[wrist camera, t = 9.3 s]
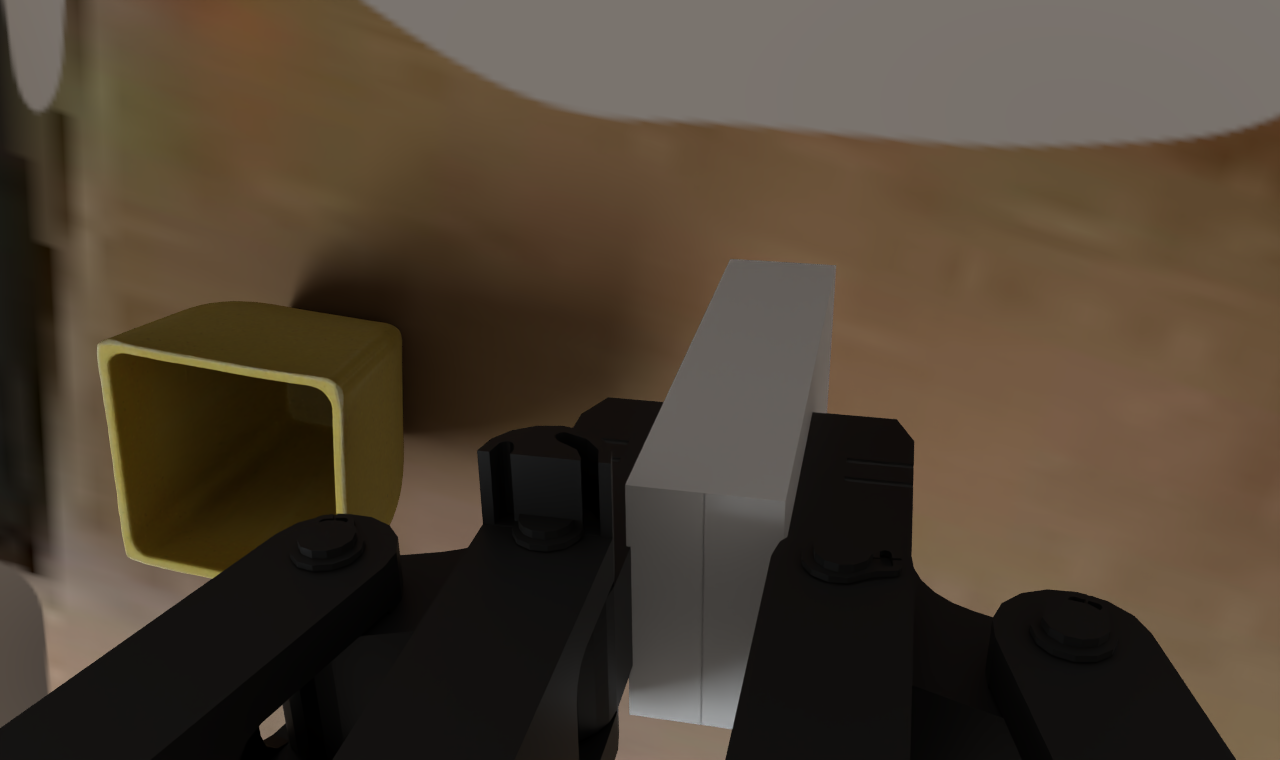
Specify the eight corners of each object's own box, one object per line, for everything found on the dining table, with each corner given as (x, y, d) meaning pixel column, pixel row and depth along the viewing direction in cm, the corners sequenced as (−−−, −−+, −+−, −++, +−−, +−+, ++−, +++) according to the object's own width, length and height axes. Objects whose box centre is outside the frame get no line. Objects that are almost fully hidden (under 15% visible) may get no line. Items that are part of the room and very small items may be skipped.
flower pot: (249, 449, 50) (121, 563, 42) (234, 255, 46) (91, 339, 38) (444, 484, 49) (350, 609, 41) (444, 287, 45) (341, 381, 37)
